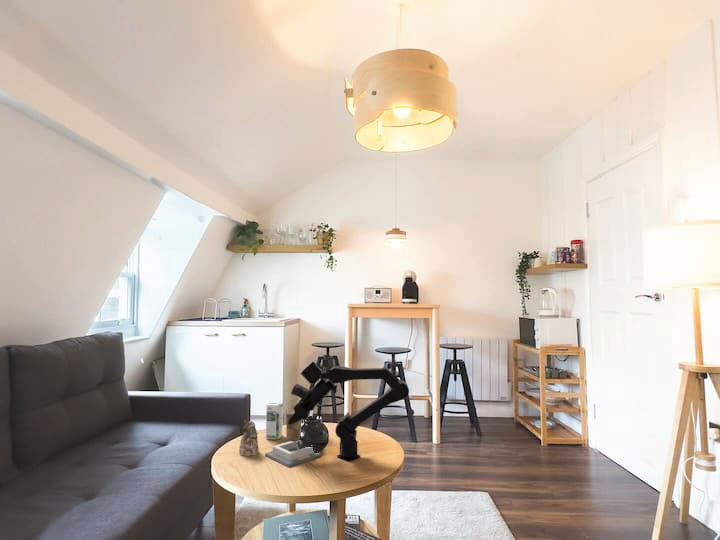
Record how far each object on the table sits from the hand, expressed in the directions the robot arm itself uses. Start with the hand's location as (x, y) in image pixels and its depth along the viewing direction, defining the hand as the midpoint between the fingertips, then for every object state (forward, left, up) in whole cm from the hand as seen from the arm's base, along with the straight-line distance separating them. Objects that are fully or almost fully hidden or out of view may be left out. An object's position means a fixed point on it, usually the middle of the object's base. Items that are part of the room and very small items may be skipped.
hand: (290, 421), depth 155 cm
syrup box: (+22, -8, -13) cm, 27 cm away
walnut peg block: (-1, -1, -7) cm, 7 cm away
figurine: (+14, +9, -13) cm, 21 cm away
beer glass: (+15, -19, -13) cm, 27 cm away
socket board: (-1, -1, -13) cm, 13 cm away
